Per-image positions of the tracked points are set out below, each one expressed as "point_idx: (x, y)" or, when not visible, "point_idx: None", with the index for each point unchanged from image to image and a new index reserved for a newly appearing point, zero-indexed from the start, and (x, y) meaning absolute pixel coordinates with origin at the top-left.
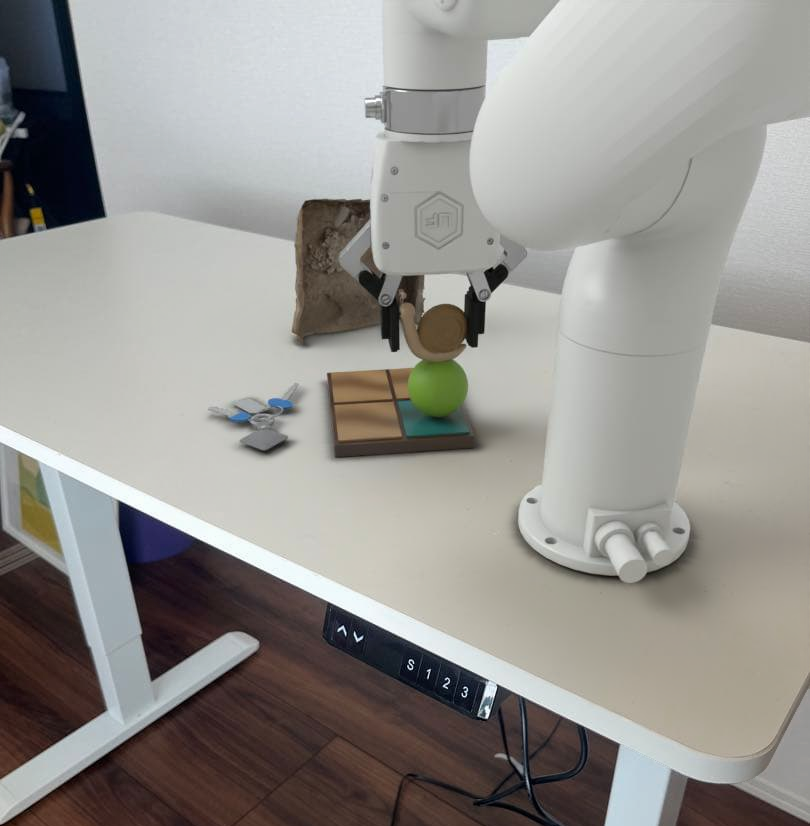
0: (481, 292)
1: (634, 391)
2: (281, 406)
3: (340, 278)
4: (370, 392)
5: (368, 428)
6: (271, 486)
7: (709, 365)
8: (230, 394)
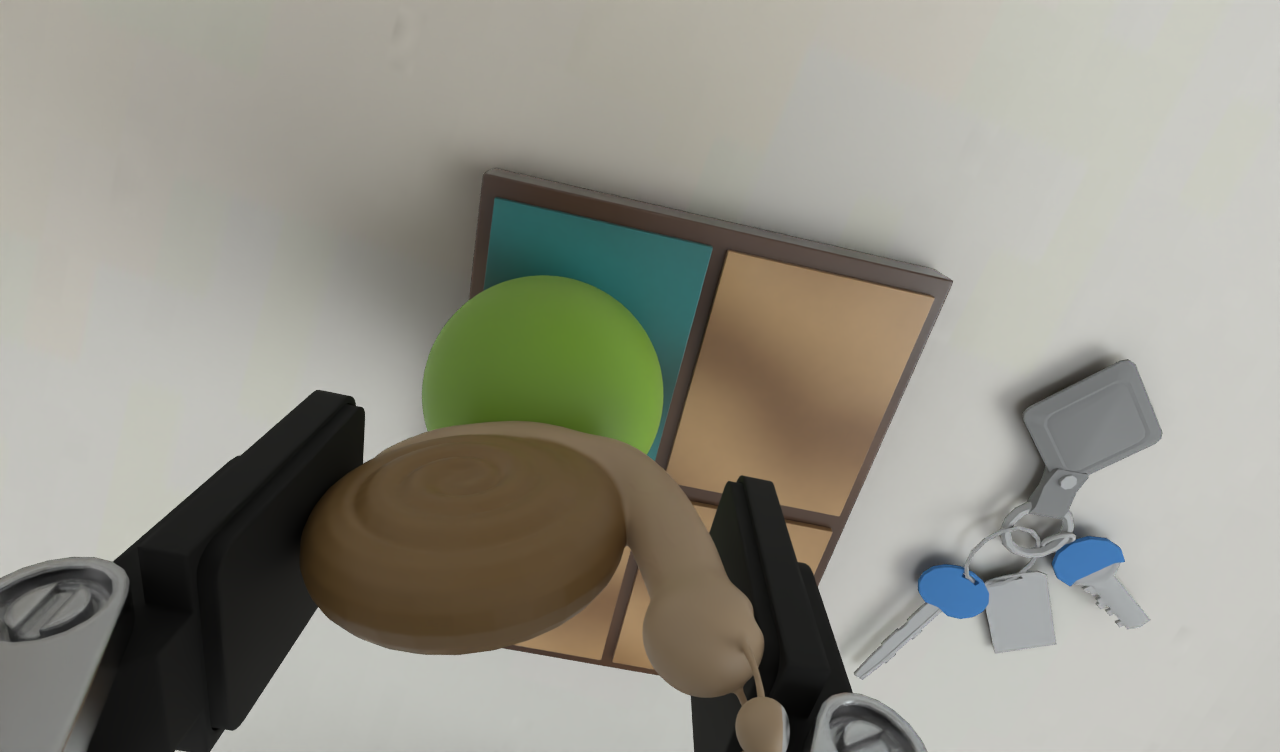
0: (56, 621)
1: None
2: (960, 574)
3: None
4: None
5: (809, 341)
6: (1200, 160)
7: None
8: (1018, 688)
